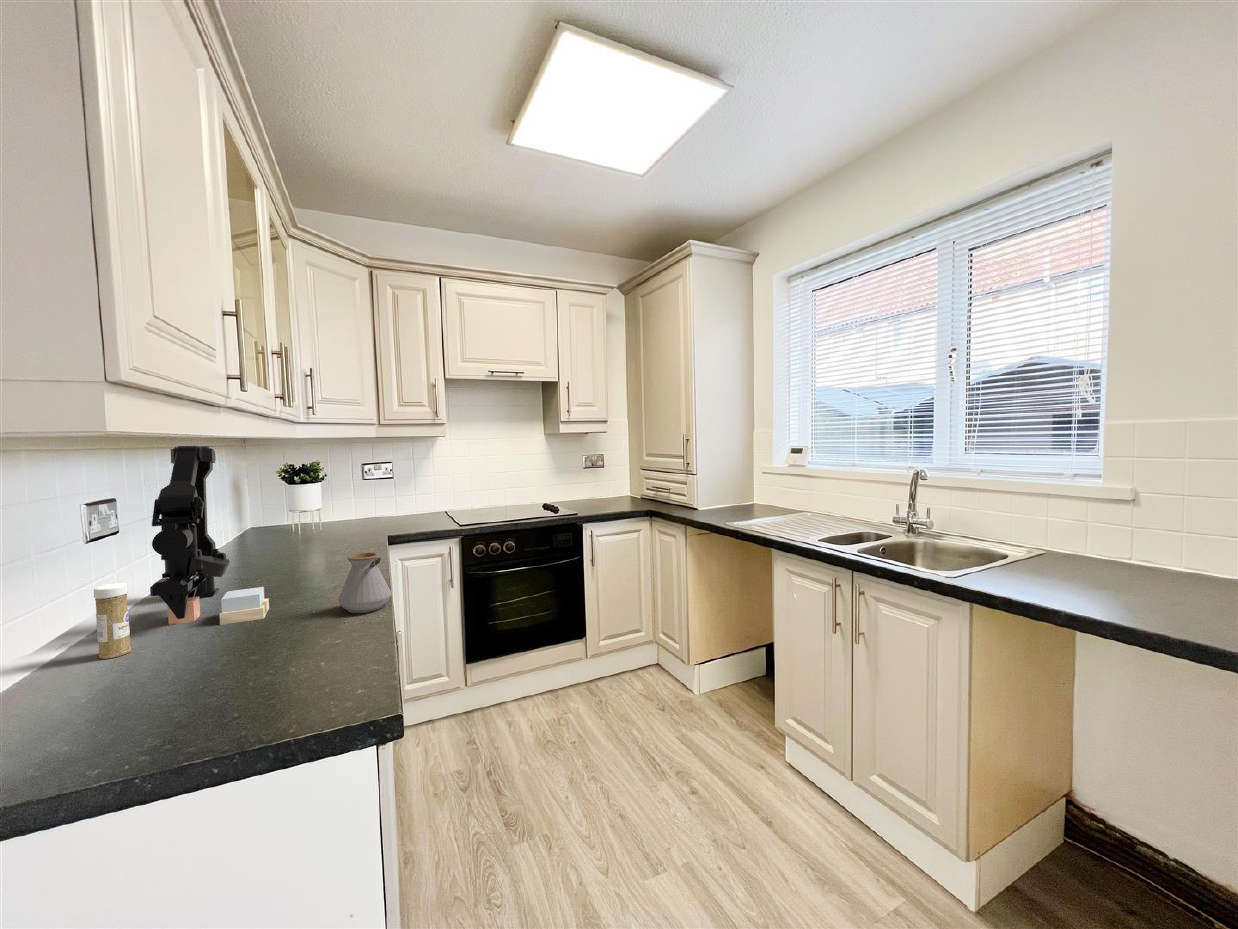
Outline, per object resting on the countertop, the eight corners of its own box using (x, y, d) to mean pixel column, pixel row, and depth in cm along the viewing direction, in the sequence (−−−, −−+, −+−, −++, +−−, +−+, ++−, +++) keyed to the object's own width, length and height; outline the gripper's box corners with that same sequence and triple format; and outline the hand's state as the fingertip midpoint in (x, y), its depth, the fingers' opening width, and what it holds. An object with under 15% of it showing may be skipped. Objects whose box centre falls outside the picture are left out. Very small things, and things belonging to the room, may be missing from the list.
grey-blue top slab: (228, 604, 118) (227, 591, 118) (264, 599, 122) (263, 586, 121) (221, 612, 112) (221, 599, 112) (260, 607, 115) (259, 594, 115)
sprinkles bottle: (131, 654, 96) (127, 585, 96) (97, 662, 93) (92, 590, 92) (131, 647, 100) (127, 580, 99) (98, 654, 96) (94, 585, 96)
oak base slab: (228, 616, 119) (227, 603, 118) (269, 610, 122) (268, 598, 122) (220, 627, 112) (219, 613, 111) (263, 620, 115) (263, 607, 115)
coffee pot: (334, 607, 123) (332, 546, 122) (384, 597, 130) (382, 540, 129) (352, 632, 106) (350, 562, 105) (409, 620, 113) (407, 554, 112)
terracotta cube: (175, 618, 116) (174, 599, 116) (200, 615, 118) (199, 596, 118) (168, 624, 112) (167, 605, 112) (194, 621, 114) (193, 601, 114)
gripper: (214, 551, 110) (218, 622, 110) (234, 537, 126) (237, 598, 127) (147, 557, 105) (151, 631, 105) (177, 542, 121) (180, 605, 122)
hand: (184, 615), depth 115 cm, fingers closed on terracotta cube, 4 cm apart
